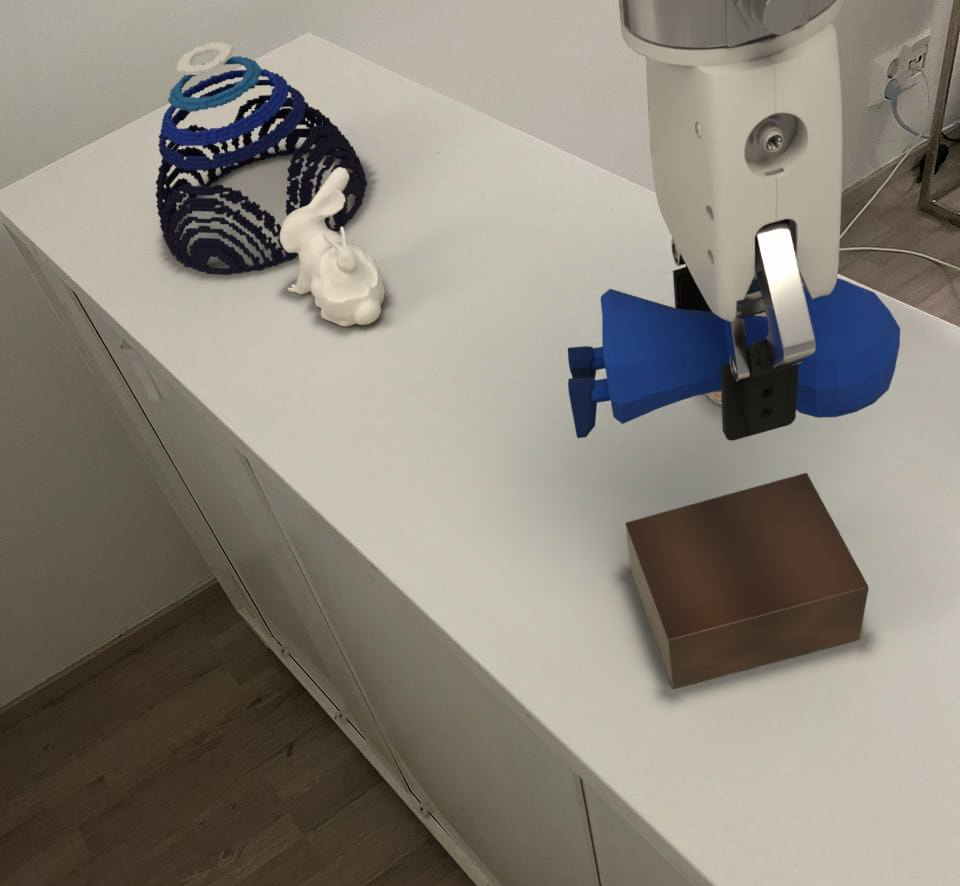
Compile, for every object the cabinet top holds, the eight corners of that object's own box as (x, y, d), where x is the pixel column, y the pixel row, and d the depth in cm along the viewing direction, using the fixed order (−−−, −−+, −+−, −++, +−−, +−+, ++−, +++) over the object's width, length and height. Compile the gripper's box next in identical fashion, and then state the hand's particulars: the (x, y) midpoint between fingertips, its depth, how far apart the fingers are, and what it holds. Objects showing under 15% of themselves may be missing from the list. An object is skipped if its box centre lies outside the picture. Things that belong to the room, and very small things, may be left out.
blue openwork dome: (312, 278, 89) (250, 120, 78) (133, 269, 97) (52, 123, 85) (396, 151, 99) (352, -7, 88) (228, 151, 106) (167, 5, 95)
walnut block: (802, 527, 63) (807, 471, 59) (860, 640, 57) (869, 587, 53) (631, 574, 63) (624, 522, 59) (672, 689, 58) (668, 640, 54)
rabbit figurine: (286, 289, 89) (243, 189, 82) (356, 248, 91) (320, 145, 83) (351, 348, 83) (311, 245, 75) (425, 303, 84) (394, 197, 76)
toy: (580, 468, 48) (911, 421, 45) (556, 369, 44) (926, 307, 40) (578, 373, 52) (883, 323, 49) (557, 272, 47) (894, 208, 44)
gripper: (960, 41, 28) (885, 483, 42) (754, -153, 38) (750, 255, 53) (697, 119, 28) (711, 531, 43) (564, -92, 39) (611, 296, 53)
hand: (733, 376), depth 48 cm, fingers closed on toy, 6 cm apart
